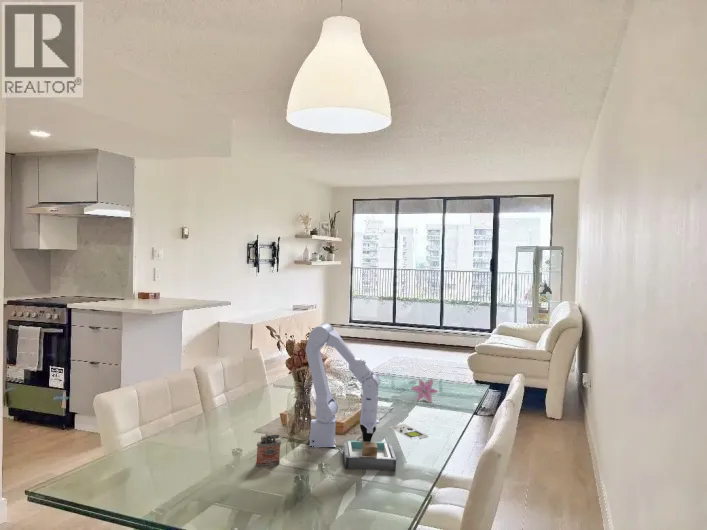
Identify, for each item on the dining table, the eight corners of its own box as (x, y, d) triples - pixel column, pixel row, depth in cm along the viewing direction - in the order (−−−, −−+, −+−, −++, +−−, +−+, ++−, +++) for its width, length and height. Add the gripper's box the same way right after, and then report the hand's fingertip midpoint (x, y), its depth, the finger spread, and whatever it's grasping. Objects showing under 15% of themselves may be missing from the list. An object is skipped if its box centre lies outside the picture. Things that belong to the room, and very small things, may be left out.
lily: (406, 398, 262) (408, 385, 257) (420, 386, 270) (423, 372, 265) (426, 412, 256) (429, 398, 251) (440, 398, 263) (443, 385, 258)
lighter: (257, 468, 172) (259, 437, 172) (254, 463, 175) (256, 434, 175) (281, 464, 176) (283, 435, 175) (277, 460, 179) (279, 431, 178)
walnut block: (363, 462, 179) (364, 446, 179) (361, 457, 184) (363, 441, 183) (376, 463, 180) (377, 447, 179) (374, 457, 184) (376, 442, 184)
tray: (349, 467, 177) (350, 456, 177) (346, 449, 191) (347, 440, 191) (390, 468, 178) (391, 458, 178) (385, 451, 192) (386, 442, 192)
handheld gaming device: (404, 423, 223) (429, 435, 211) (404, 425, 223) (429, 437, 211) (388, 426, 218) (412, 439, 206) (387, 428, 218) (412, 441, 206)
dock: (345, 469, 176) (346, 457, 176) (343, 451, 190) (343, 440, 190) (395, 471, 177) (396, 459, 177) (389, 453, 192) (390, 442, 191)
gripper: (382, 416, 185) (379, 454, 186) (377, 402, 199) (375, 438, 200) (362, 415, 184) (359, 453, 185) (359, 401, 199) (356, 437, 200)
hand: (366, 445), depth 193 cm, fingers closed
